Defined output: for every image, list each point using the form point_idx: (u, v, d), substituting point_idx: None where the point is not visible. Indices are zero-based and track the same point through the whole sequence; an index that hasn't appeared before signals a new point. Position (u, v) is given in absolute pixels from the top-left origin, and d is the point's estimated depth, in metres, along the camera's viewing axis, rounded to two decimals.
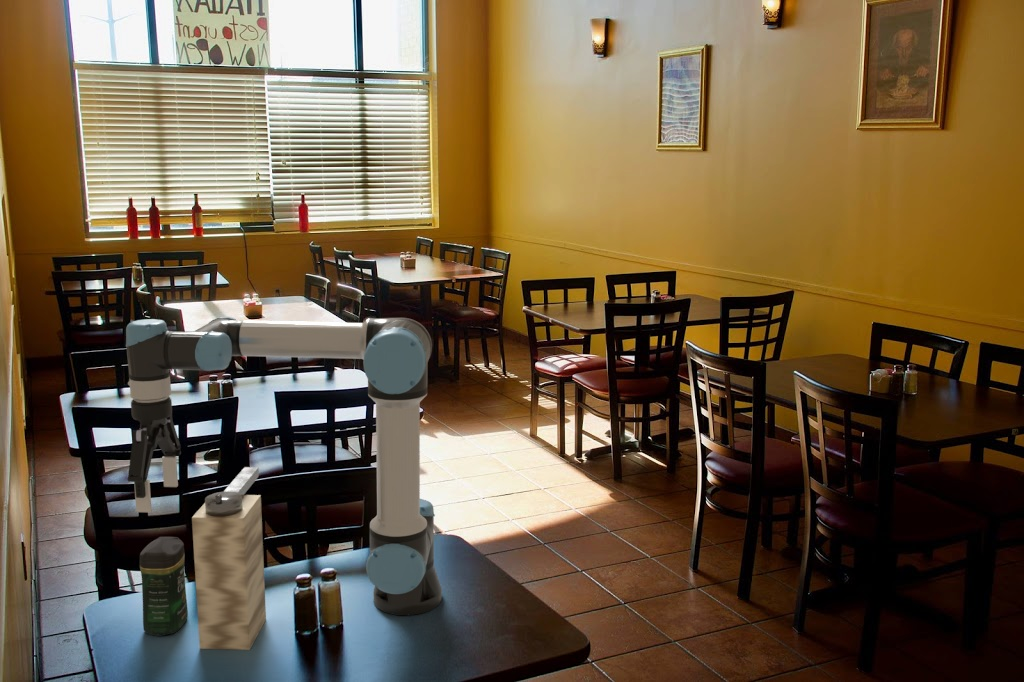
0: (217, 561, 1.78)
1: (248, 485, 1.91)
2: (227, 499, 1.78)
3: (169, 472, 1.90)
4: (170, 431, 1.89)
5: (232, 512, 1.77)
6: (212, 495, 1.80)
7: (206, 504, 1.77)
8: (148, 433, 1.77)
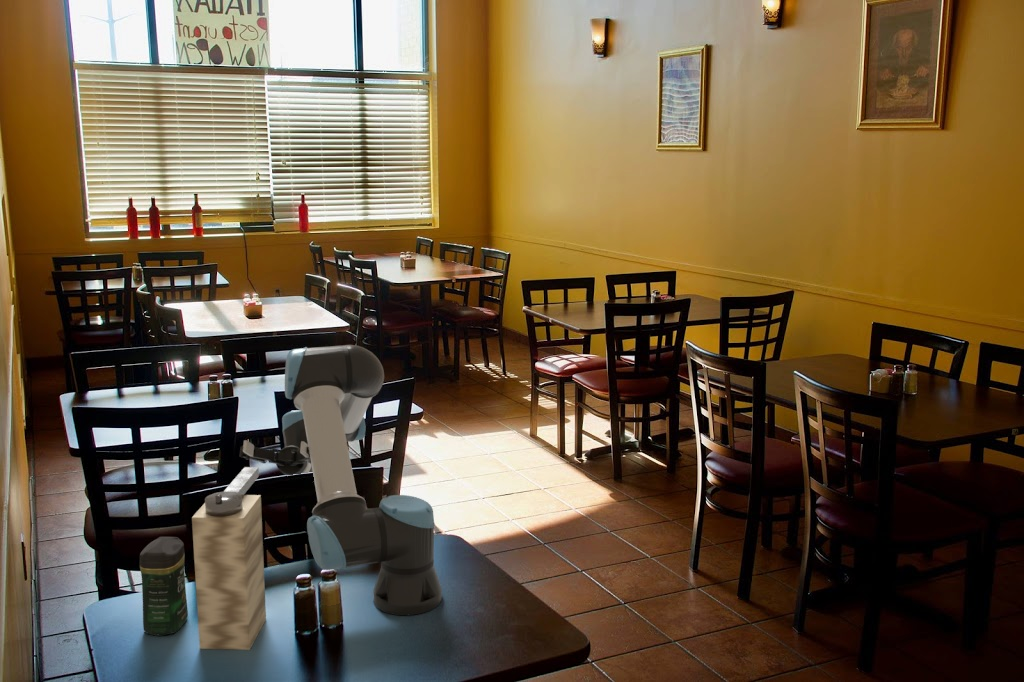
0: (217, 561, 1.78)
1: (248, 485, 1.91)
2: (227, 499, 1.78)
3: None
4: None
5: (232, 512, 1.77)
6: (212, 495, 1.80)
7: (206, 504, 1.77)
8: None
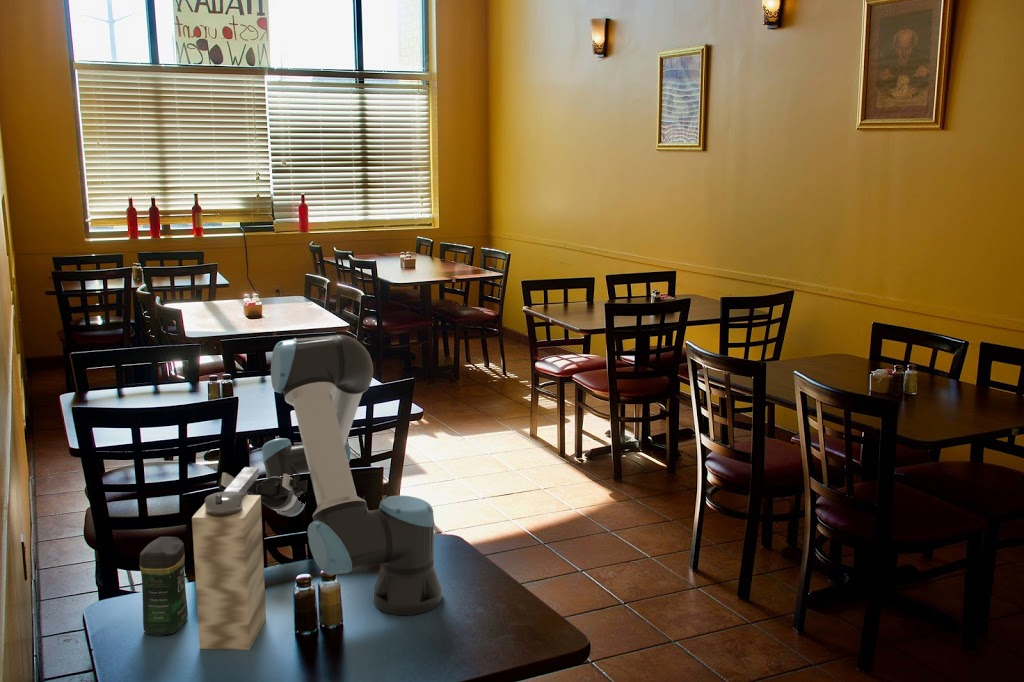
0: (217, 561, 1.78)
1: (248, 485, 1.91)
2: (227, 499, 1.78)
3: None
4: None
5: (232, 512, 1.77)
6: (212, 495, 1.80)
7: (206, 504, 1.77)
8: None
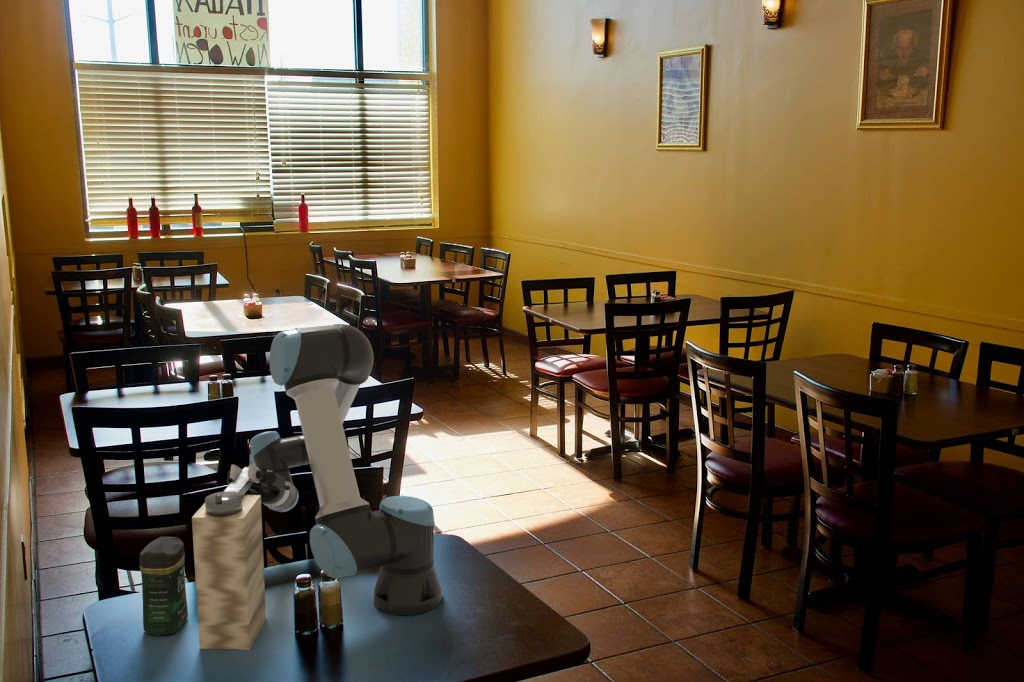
0: (217, 561, 1.78)
1: (248, 485, 1.91)
2: (227, 499, 1.78)
3: None
4: None
5: (232, 512, 1.77)
6: (212, 495, 1.80)
7: (206, 504, 1.77)
8: None
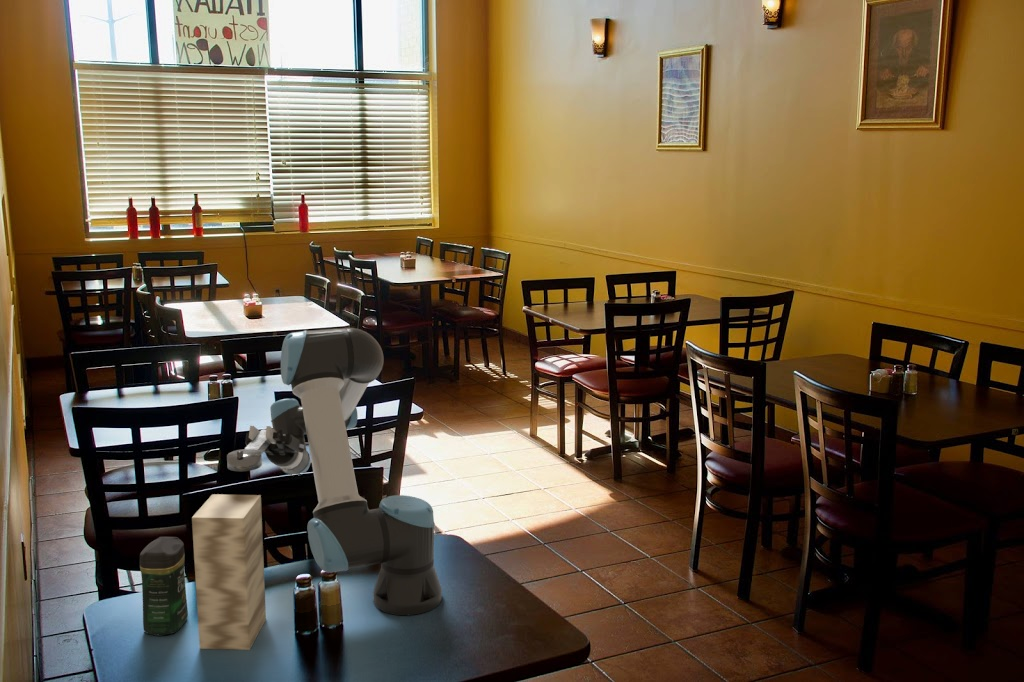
0: (217, 561, 1.78)
1: (266, 445, 2.04)
2: (247, 455, 1.92)
3: None
4: None
5: (252, 467, 1.90)
6: (234, 452, 1.93)
7: (228, 460, 1.90)
8: None
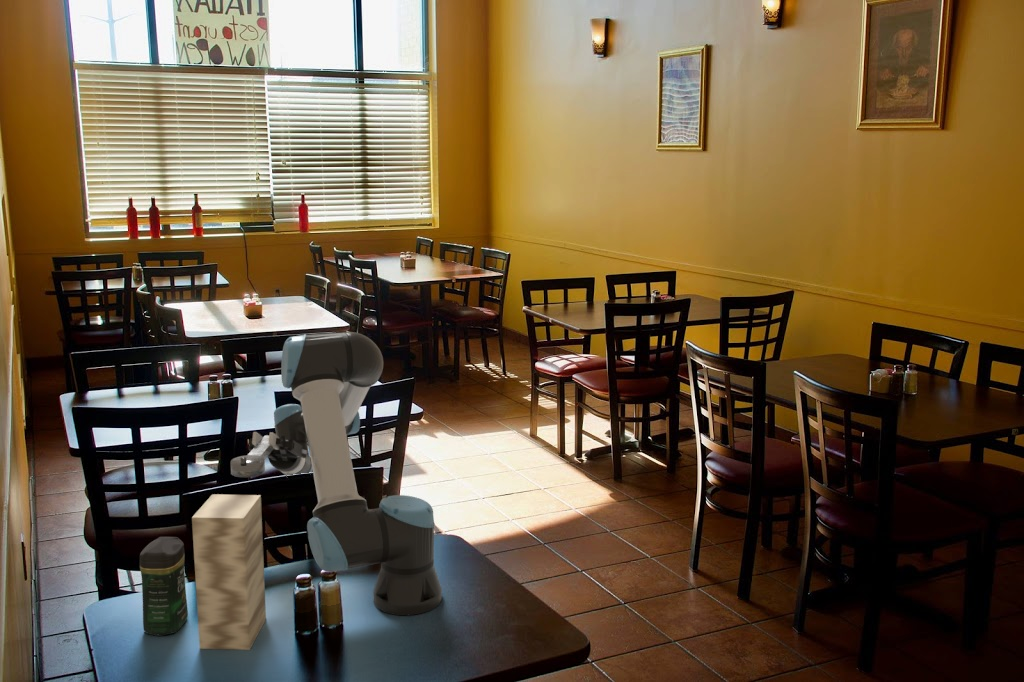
0: (217, 561, 1.78)
1: (269, 451, 2.06)
2: (250, 461, 1.94)
3: None
4: None
5: (255, 473, 1.93)
6: (237, 458, 1.96)
7: (231, 465, 1.93)
8: None
